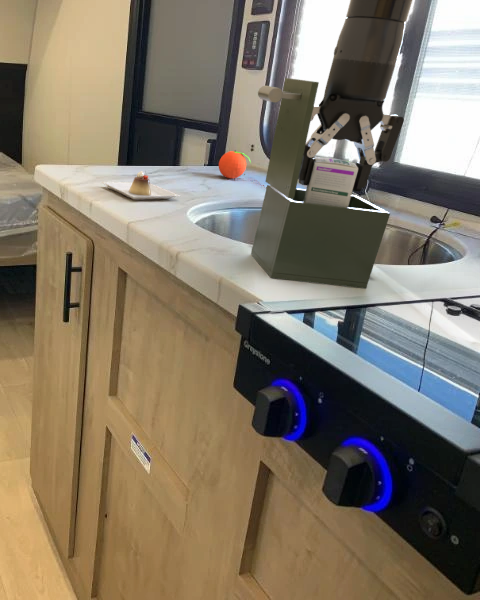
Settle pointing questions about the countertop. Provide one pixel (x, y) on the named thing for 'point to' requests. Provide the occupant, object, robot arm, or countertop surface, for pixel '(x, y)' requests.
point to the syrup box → (331, 182)
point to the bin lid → (289, 131)
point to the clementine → (232, 164)
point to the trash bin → (318, 239)
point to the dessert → (140, 189)
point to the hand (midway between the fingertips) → (329, 187)
